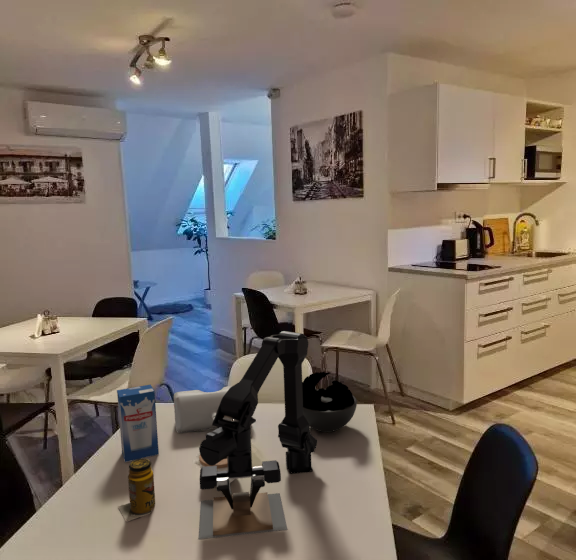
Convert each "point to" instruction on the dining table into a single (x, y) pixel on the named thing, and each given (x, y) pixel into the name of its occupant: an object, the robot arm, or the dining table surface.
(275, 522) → the mat
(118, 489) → the dining table surface
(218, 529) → the lid
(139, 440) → the milk carton
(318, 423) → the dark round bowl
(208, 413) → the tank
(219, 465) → the lidded jar
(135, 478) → the condiment
